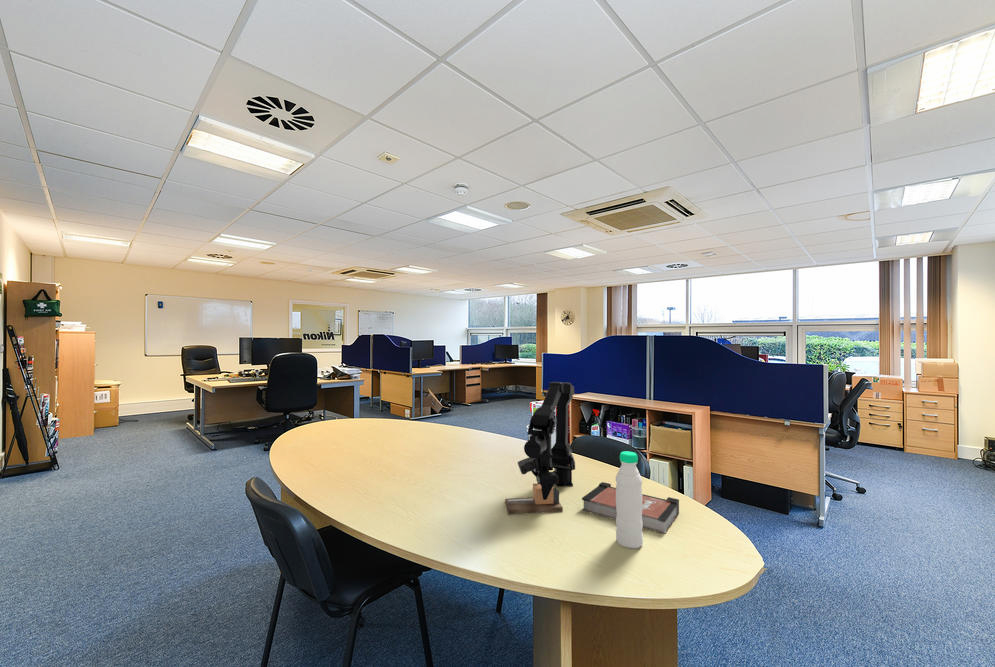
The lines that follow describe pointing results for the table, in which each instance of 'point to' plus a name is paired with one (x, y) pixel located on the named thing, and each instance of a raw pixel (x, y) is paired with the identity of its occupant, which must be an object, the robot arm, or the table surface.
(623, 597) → the table surface
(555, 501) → the guide rail
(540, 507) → the board
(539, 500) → the block
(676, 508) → the book
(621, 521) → the water bottle
